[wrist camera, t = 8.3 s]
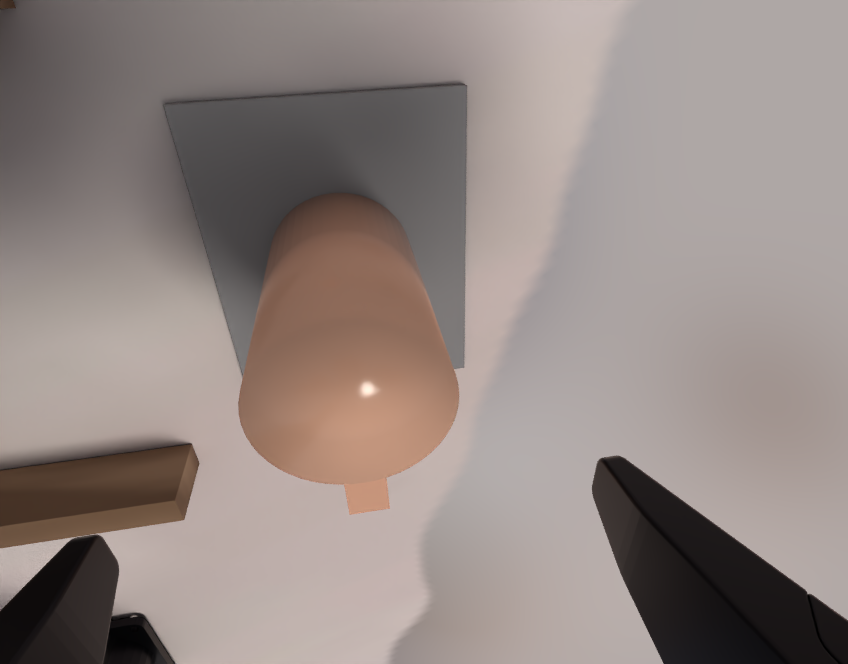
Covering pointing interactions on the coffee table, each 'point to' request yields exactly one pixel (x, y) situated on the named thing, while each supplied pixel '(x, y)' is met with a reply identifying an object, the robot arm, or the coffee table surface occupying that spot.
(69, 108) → the coffee table surface
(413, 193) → the mat
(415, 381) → the popsicle on stick
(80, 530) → the holder
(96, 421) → the coffee table surface
